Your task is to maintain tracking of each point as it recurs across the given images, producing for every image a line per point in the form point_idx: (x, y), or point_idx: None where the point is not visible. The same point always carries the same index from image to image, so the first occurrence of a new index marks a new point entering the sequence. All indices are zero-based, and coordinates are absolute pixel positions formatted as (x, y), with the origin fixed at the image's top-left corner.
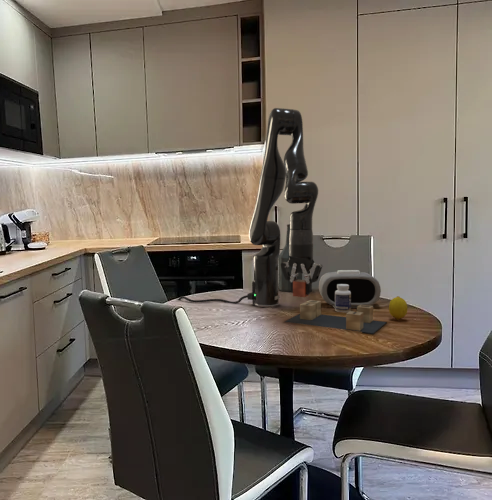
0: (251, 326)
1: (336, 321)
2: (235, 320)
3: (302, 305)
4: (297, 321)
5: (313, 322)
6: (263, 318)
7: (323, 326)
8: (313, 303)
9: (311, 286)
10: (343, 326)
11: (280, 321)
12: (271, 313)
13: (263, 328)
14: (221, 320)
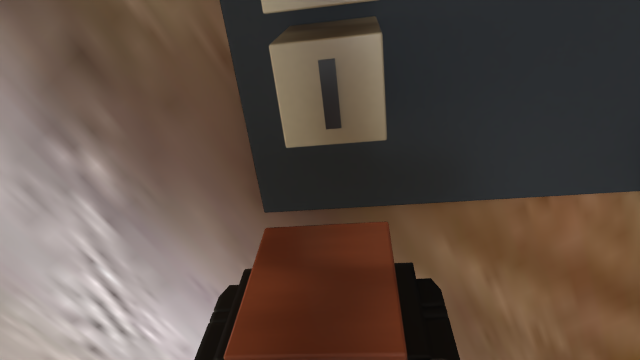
0: (193, 329)
1: (547, 30)
2: (62, 286)
3: (308, 144)
4: (321, 173)
5: (413, 145)
6: (118, 187)
7: (499, 195)
8: (345, 2)
9: (452, 338)
10: (616, 134)
11: (231, 194)
12: (45, 43)
13: None
14: (24, 313)
